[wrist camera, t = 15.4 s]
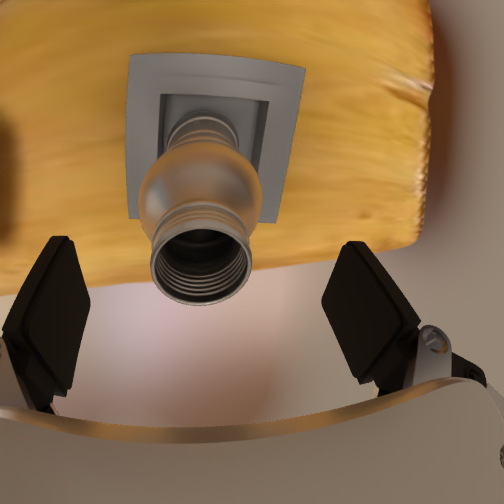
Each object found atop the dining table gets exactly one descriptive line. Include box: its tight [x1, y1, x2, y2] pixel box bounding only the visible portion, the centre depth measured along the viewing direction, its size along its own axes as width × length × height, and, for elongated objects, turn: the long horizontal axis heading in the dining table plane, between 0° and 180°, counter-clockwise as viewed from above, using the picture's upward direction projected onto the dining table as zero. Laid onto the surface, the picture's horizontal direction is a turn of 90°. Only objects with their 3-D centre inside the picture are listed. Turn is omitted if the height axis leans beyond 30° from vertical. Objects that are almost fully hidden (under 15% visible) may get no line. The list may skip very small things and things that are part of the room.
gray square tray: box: [126, 53, 306, 223], centre depth 25 cm, size 18×17×5 cm
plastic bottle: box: [138, 111, 263, 306], centre depth 18 cm, size 6×7×20 cm
